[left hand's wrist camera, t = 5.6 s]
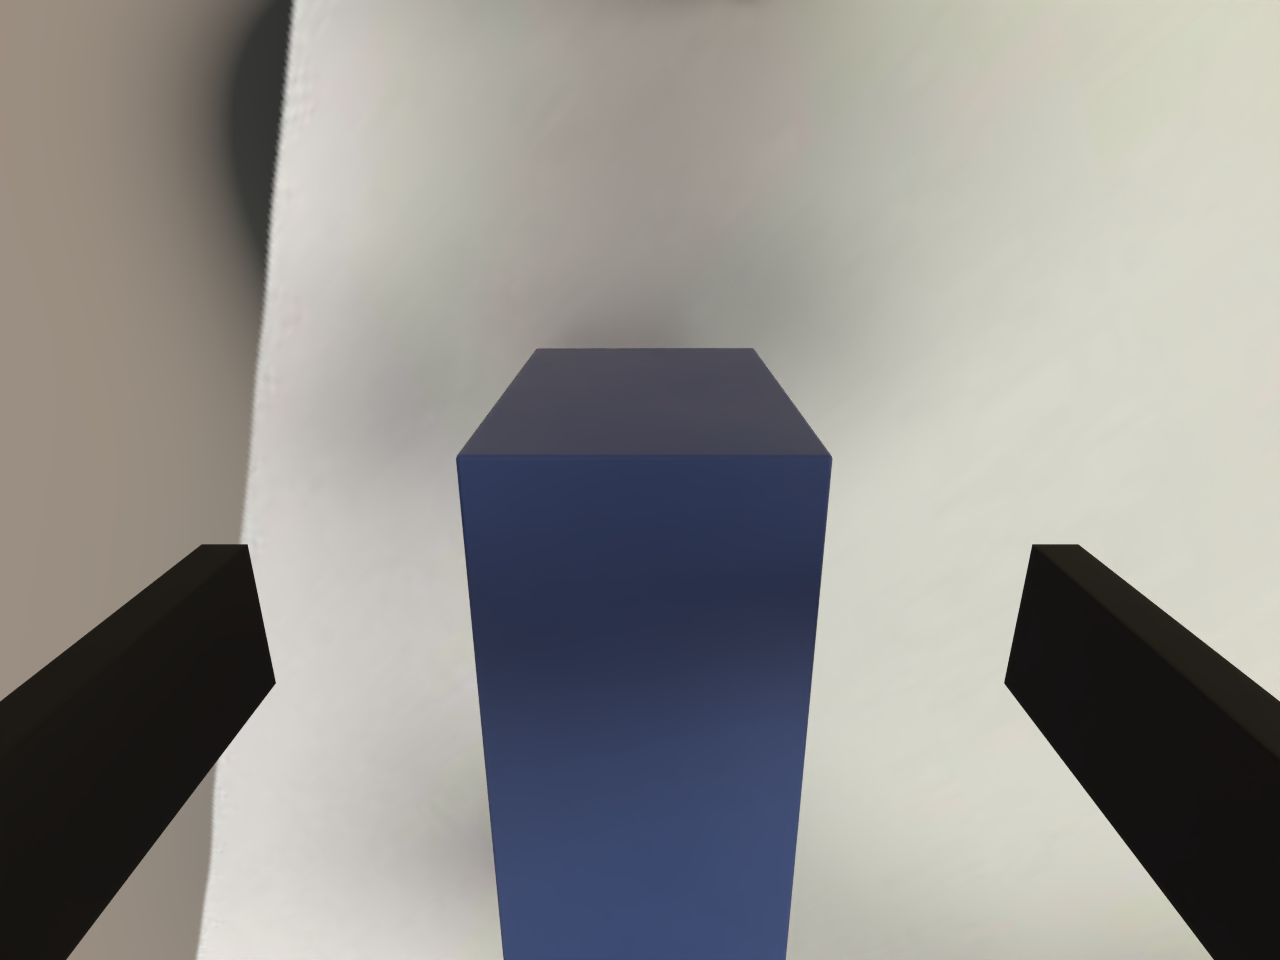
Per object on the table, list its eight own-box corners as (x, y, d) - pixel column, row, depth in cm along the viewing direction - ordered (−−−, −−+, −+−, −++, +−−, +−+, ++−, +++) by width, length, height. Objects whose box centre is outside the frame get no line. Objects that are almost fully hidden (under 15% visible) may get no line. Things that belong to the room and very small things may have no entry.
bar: (535, 348, 20) (454, 455, 12) (754, 347, 20) (833, 456, 12) (571, 1024, 30) (540, 1356, 21) (719, 1026, 30) (749, 1359, 21)
